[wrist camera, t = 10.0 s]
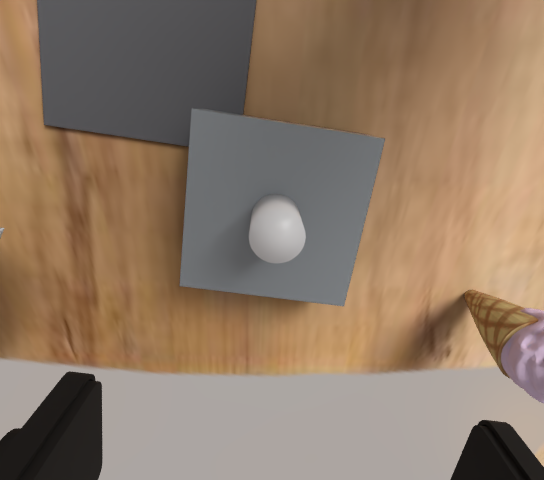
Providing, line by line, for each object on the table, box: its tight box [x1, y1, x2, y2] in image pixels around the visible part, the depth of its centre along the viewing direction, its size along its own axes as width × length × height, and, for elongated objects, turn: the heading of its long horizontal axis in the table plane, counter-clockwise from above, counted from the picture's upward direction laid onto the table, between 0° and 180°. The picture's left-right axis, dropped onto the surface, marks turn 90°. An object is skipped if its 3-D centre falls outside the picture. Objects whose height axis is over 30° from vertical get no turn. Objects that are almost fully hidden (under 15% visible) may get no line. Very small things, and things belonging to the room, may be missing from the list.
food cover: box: [180, 109, 385, 306], centre depth 30 cm, size 15×15×11 cm
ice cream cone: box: [464, 290, 544, 403], centre depth 32 cm, size 7×6×15 cm
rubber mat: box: [37, 0, 256, 146], centre depth 31 cm, size 18×18×1 cm
